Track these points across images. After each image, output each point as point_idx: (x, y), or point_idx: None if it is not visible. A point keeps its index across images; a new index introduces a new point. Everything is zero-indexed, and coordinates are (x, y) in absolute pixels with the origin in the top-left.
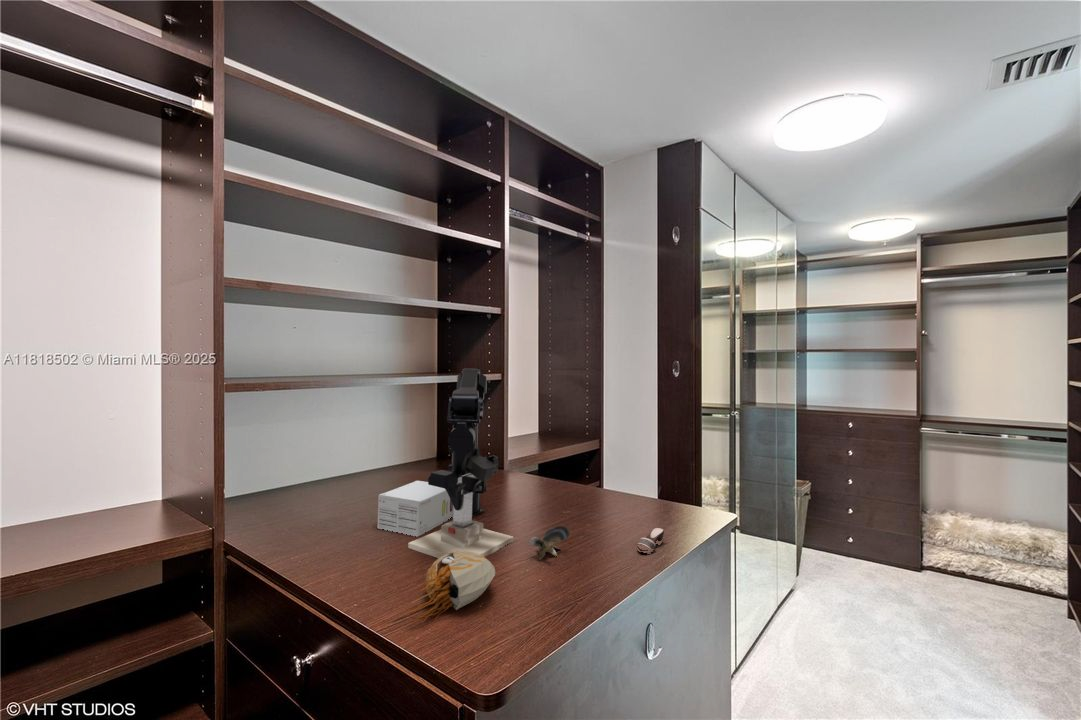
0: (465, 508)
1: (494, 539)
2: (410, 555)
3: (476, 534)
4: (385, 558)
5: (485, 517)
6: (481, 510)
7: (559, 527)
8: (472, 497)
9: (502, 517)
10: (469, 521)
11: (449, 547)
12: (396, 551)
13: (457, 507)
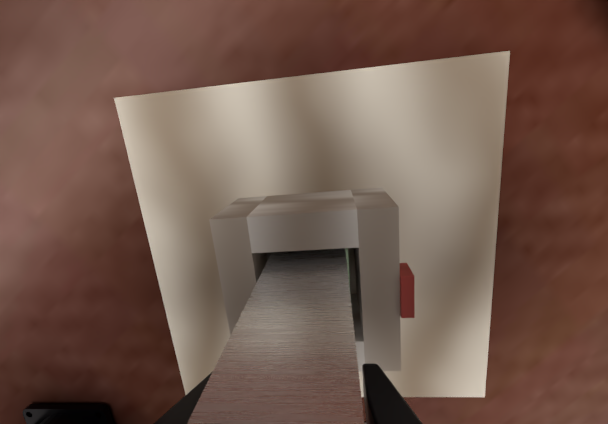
0: (325, 336)
1: (206, 147)
2: (525, 328)
3: (281, 202)
4: (601, 375)
5: (59, 366)
6: (35, 413)
7: None
8: (167, 422)
9: (4, 319)
10: (285, 272)
11: (418, 240)
12: (524, 389)
13: (391, 389)
